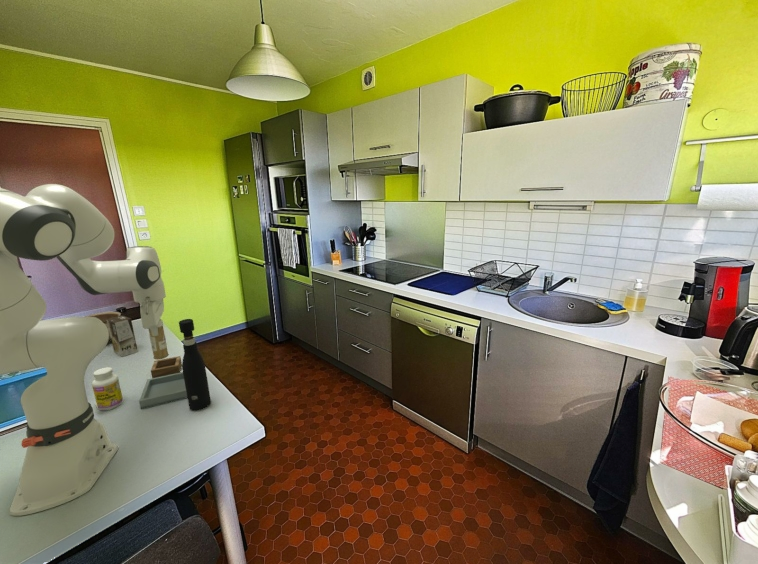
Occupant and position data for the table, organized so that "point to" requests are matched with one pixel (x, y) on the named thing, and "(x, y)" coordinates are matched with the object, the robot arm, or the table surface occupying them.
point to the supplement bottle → (106, 389)
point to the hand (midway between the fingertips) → (156, 332)
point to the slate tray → (163, 390)
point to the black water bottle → (194, 369)
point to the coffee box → (122, 335)
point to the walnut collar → (166, 367)
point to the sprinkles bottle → (159, 342)
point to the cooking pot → (105, 318)
